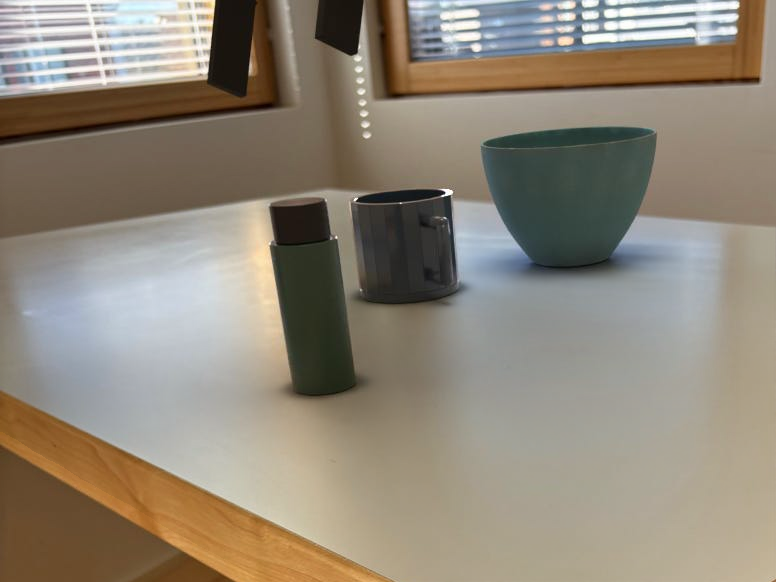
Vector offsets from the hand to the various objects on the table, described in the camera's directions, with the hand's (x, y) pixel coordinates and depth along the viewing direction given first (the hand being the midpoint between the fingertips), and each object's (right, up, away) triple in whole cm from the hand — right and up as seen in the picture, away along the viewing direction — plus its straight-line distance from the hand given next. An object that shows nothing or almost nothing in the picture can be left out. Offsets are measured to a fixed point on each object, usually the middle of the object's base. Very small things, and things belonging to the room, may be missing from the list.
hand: (277, 70), depth 68 cm
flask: (+2, -18, +10) cm, 21 cm away
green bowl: (+23, +4, +45) cm, 51 cm away
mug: (+7, -3, +35) cm, 36 cm away
